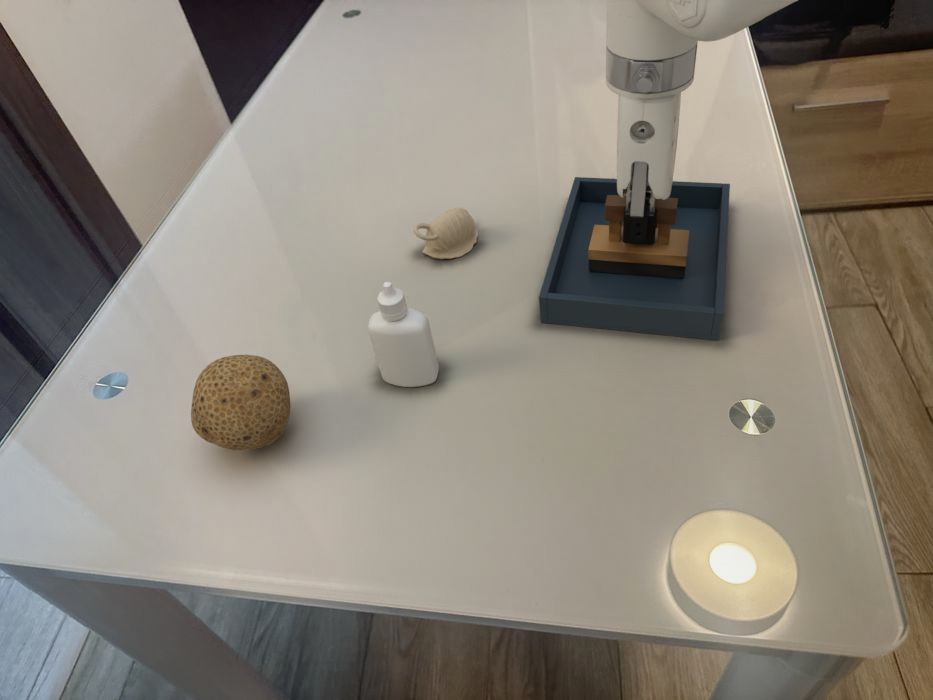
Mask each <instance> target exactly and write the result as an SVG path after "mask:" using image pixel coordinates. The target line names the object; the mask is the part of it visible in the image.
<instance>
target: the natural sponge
mask: <svg viewBox="0 0 933 700" xmlns="http://www.w3.org/2000/svg"><path fill="white" fill-rule="evenodd" d="M194 383H195V384H194V387H193V393H192V399H191V409H190V421H191V422H190V423H191V427H192V428H193V430H194V432H195V433H196V435H198V436H199V437H200V438H201V439H202V440H203V441H206V442H207V443H209V444H213V445H215V446H217V447H220V448H222V449H225V450H226V449H227V450H232V451H239V452H240V451H241V452H242V451H248V450H254V449H255V450H256V449H261V448H265V447H266V446H269V445H271V444H273V443H274V442H275V441H276V440H278V439H279V438H280V437H281V436H282V435H283V433H284V432H285V431H286V428H287V426H288V423H289V418H290V415H291V405H292V404H291V393H290V388H289V384H288V381H287V379H286V377H285V374H284V373H283V372H282V370H281V369H280V368H279V367H278V366H277V365H276V364H275V363H273V361H271V360H269V359H268V358H265V357H263V356H260V355H253V354H235V355H229V356H223V357H220V358H218V359H216V360H213V361H212V362H210V363H209V364H207V366H206V367H205V368H204V369H202V371H201V372H200V373H199V375H198V376H197V378H196V381H195V382H194Z"/></svg>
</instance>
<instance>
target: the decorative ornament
mask: <svg viewBox="0 0 933 700" xmlns="http://www.w3.org/2000/svg"><path fill="white" fill-rule="evenodd" d="M419 229H425V230H426V232H425V234H422V233H420V232H419ZM413 234H414V235H415V236H416V237H417V238H419V239H420V240H423V241H425V246H424V247H423V249H422V250H421V252H422V254H425V255H426V256H429V257H432V258H433V259H439V260H444V259H447V260H451V259H457V258H461V257H463V256H465V255H466V254H468V253H470V252H471V251H472V249H473V247H474V245H475V244H477V238H479V232H478V230H477V228H476V225H475V220H474V218H473V216H472V215H471V214H470V212H469V211H468V210H466V209H465V208H463V207H455V208H452V209H449V210H447V211H446V212H444V213H442V214H440V215H438V216H436V218H435V219H433V220H432V221H431V222H430V223H426V222H424V223H423V222H421V223H417V224H416V225H414V227H413Z"/></svg>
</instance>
